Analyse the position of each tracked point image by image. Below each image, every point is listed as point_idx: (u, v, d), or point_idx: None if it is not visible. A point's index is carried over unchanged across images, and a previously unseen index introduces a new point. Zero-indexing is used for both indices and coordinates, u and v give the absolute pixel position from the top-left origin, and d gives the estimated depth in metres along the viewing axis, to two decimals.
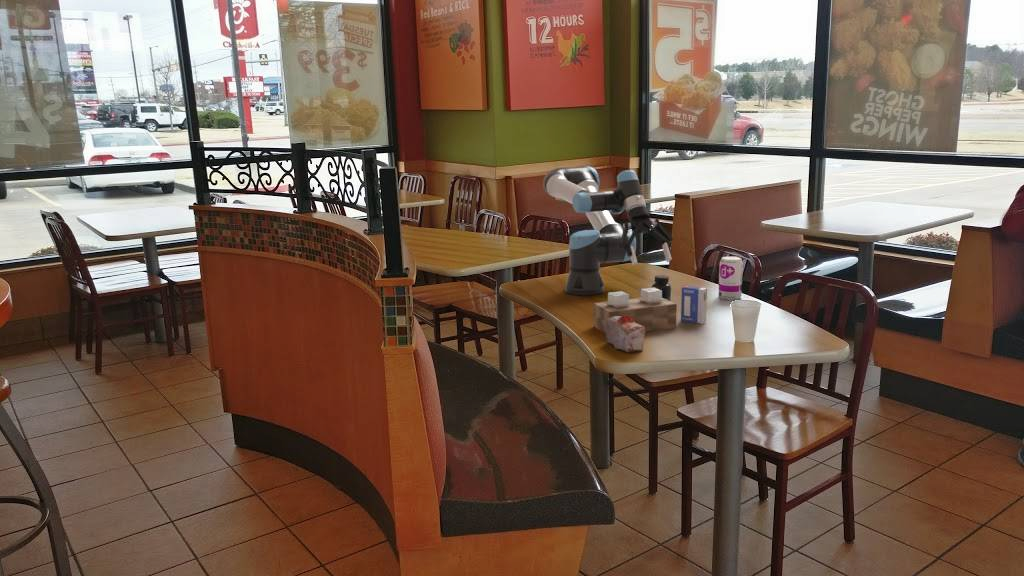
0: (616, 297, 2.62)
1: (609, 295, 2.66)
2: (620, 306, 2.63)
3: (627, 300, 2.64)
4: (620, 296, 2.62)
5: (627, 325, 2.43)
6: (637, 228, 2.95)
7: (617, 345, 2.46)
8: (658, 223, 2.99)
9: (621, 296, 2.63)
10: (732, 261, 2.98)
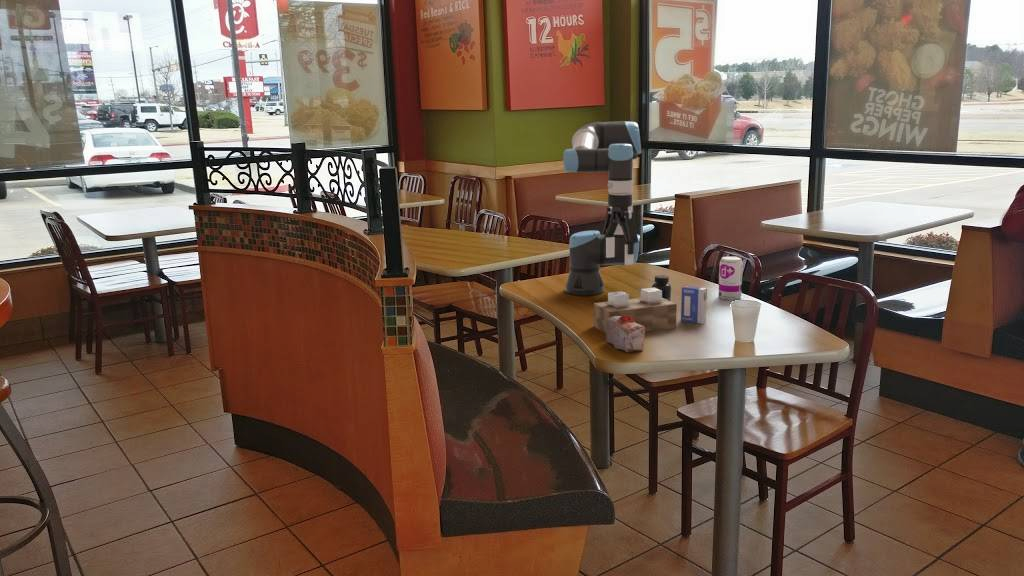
0: (616, 297, 2.62)
1: (609, 295, 2.66)
2: (620, 306, 2.63)
3: (627, 300, 2.64)
4: (620, 296, 2.62)
5: (628, 324, 2.43)
6: (611, 219, 2.61)
7: (617, 345, 2.46)
8: (625, 218, 2.53)
9: (621, 296, 2.63)
10: (732, 261, 2.98)
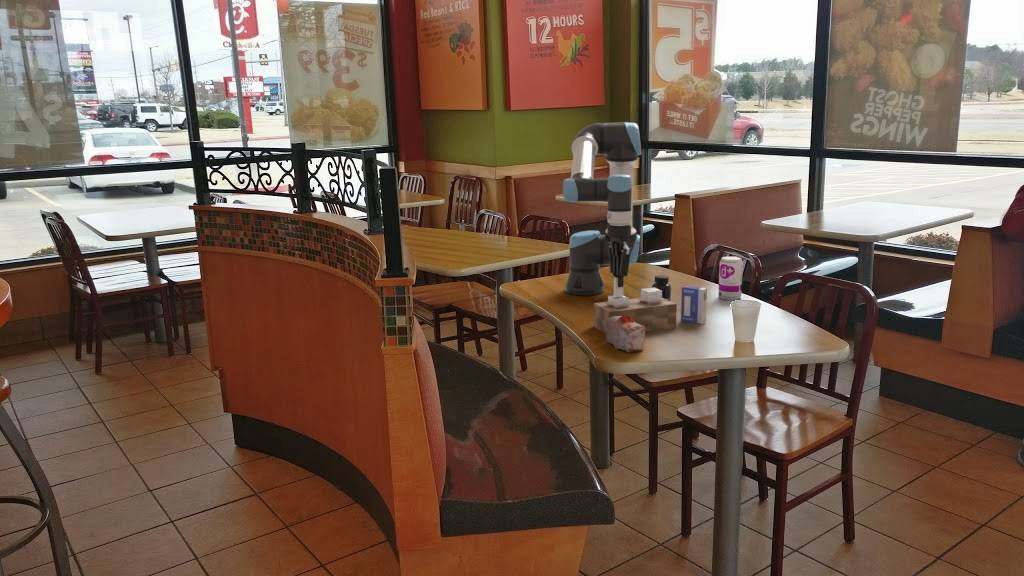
0: (616, 300, 2.62)
1: (609, 298, 2.66)
2: None
3: (627, 303, 2.64)
4: (620, 299, 2.63)
5: (628, 324, 2.44)
6: (612, 250, 2.62)
7: (617, 345, 2.46)
8: (622, 253, 2.57)
9: (621, 299, 2.63)
10: (732, 261, 2.98)
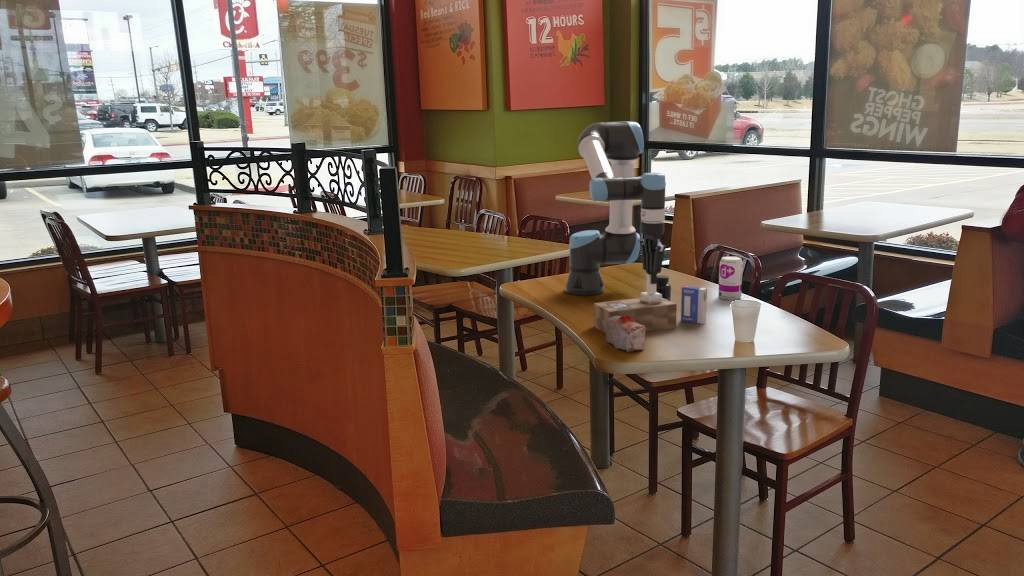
0: None
1: None
2: None
3: None
4: None
5: (628, 324, 2.44)
6: (645, 248, 2.66)
7: (618, 345, 2.46)
8: (656, 250, 2.61)
9: None
10: (732, 261, 2.98)
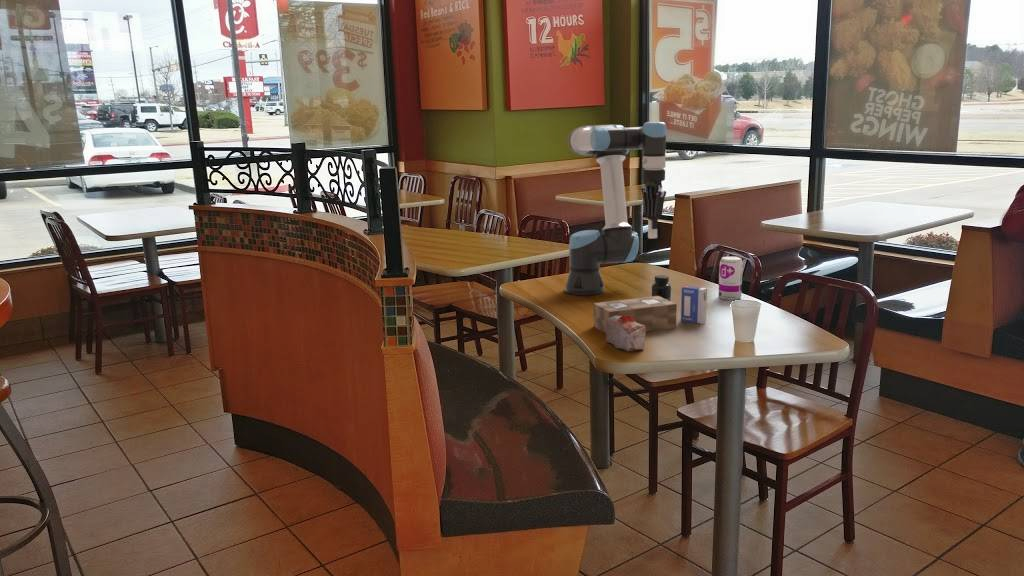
0: None
1: None
2: None
3: None
4: None
5: (628, 324, 2.44)
6: (647, 194, 2.78)
7: (618, 345, 2.47)
8: (657, 196, 2.73)
9: None
10: (732, 261, 2.98)
